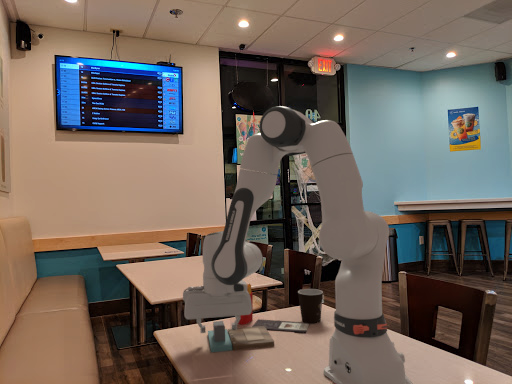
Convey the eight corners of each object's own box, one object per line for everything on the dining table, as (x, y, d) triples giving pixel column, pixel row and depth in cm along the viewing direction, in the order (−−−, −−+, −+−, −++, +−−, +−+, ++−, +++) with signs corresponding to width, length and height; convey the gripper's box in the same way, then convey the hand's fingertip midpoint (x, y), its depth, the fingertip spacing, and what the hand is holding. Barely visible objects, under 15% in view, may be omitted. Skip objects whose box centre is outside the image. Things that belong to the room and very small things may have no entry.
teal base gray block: (232, 350, 108) (231, 331, 108) (210, 352, 107) (210, 333, 107) (226, 333, 122) (226, 316, 122) (207, 334, 121) (207, 318, 121)
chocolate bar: (258, 319, 134) (309, 322, 129) (258, 322, 134) (309, 325, 129) (250, 327, 125) (305, 331, 120) (250, 330, 125) (305, 334, 120)
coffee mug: (313, 326, 126) (312, 296, 126) (293, 320, 133) (292, 292, 133) (334, 318, 134) (333, 290, 134) (314, 313, 141) (314, 286, 141)
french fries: (244, 317, 138) (243, 281, 138) (255, 318, 136) (254, 282, 136) (233, 325, 130) (232, 287, 130) (244, 327, 128) (243, 288, 128)
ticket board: (274, 346, 110) (274, 340, 110) (233, 350, 108) (233, 344, 108) (264, 330, 124) (264, 325, 124) (227, 333, 122) (227, 328, 122)
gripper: (182, 289, 110) (183, 337, 110) (252, 285, 113) (253, 331, 113) (182, 284, 116) (183, 330, 116) (249, 280, 120) (250, 324, 120)
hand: (218, 331), depth 115 cm, fingers open, 8 cm apart
